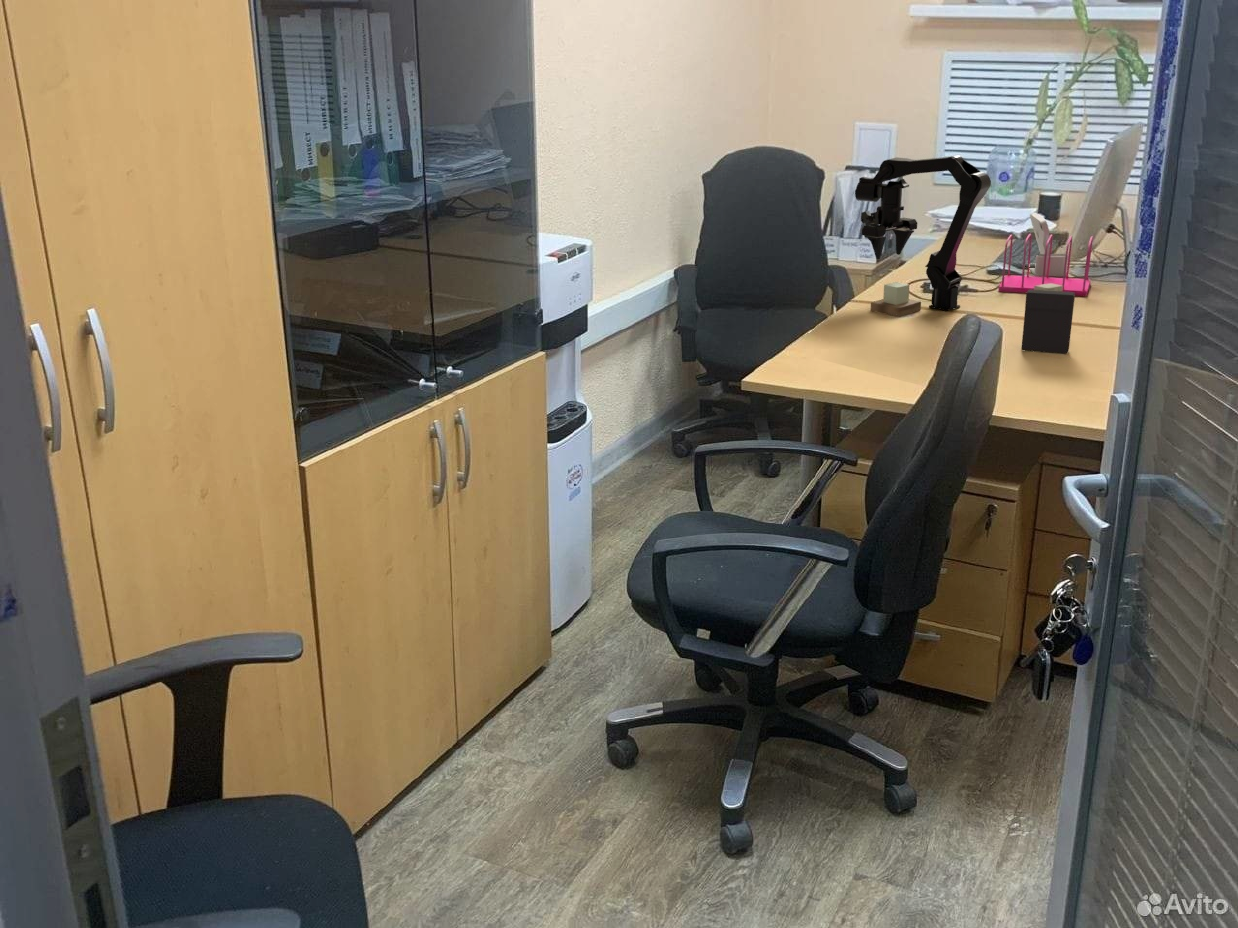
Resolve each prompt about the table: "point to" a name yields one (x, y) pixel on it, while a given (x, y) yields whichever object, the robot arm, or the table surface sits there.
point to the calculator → (1048, 321)
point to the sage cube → (896, 293)
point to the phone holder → (1042, 237)
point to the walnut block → (896, 307)
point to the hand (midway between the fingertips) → (888, 256)
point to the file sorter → (1028, 282)
